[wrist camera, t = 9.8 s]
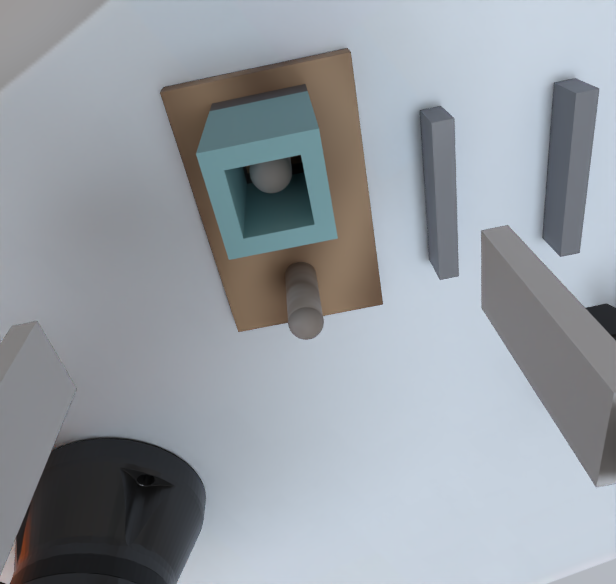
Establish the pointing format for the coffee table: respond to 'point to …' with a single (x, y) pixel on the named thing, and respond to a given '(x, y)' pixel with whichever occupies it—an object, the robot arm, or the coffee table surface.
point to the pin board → (343, 182)
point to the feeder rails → (560, 178)
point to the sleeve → (257, 149)
